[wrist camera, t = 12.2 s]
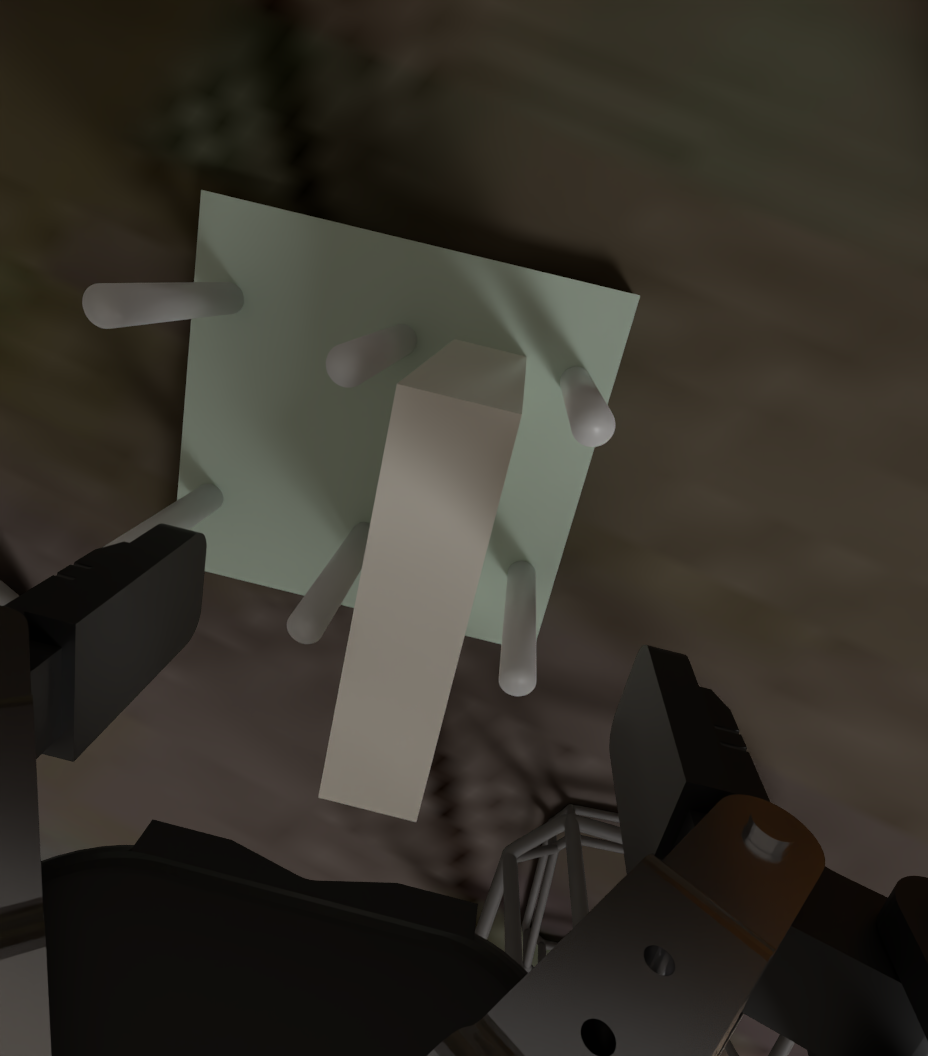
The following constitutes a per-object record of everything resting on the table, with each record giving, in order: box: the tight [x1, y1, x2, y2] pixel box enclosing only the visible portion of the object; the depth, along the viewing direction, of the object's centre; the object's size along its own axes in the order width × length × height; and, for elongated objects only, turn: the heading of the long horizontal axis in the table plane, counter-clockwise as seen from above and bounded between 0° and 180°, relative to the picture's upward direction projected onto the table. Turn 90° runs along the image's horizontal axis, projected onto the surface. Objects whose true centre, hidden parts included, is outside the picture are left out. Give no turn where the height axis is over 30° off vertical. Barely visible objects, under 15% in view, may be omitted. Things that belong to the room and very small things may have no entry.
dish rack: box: [82, 190, 640, 696], centre depth 21 cm, size 14×13×8 cm
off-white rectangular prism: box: [318, 339, 527, 822], centre depth 19 cm, size 2×10×10 cm, turn 167°
